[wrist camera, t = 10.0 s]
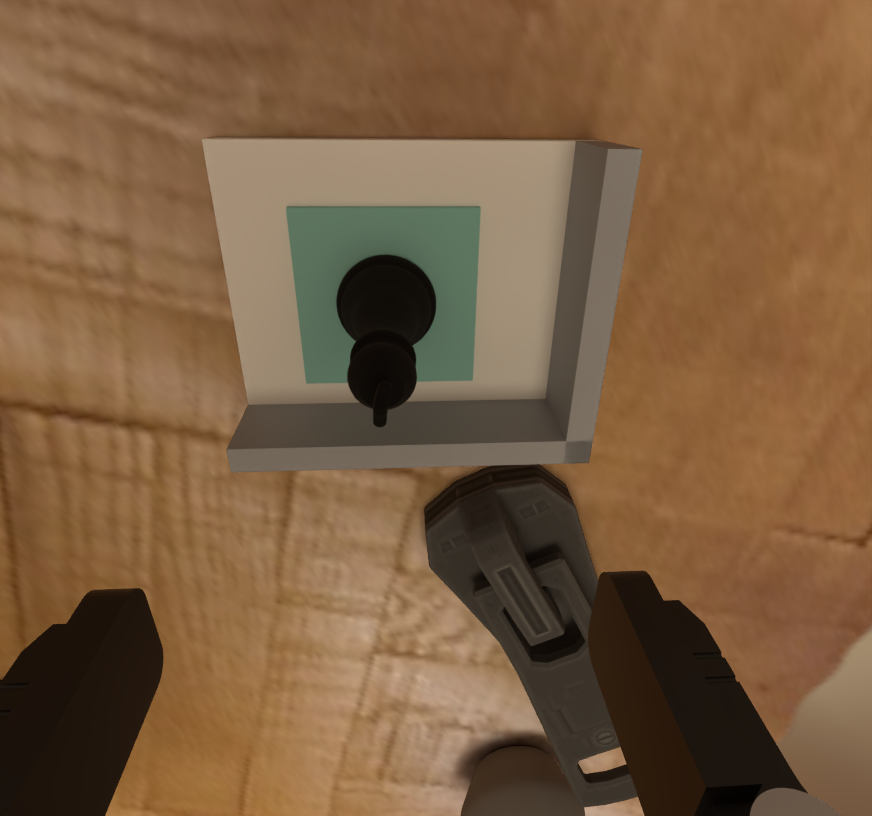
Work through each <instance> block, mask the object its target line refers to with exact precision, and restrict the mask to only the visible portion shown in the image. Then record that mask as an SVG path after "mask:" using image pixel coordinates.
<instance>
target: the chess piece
mask: <svg viewBox="0 0 872 816" xmlns="http://www.w3.org/2000/svg"><path fill="white" fill-rule="evenodd" d="M336 306H337V313H338V317H339V319H340V322H341V324H342V326H343V328H344V329H345V331H346V332H347V333H348V334H349V336H350V337H351V338H352V339H353V340H355V341H356V342H355V343H354V345H353V347H352V349H351V354H350V364H349V367H348V371H347V381H348V386H349V388H350V391H351V393H352V394H353V396H354V397H355V398H356V399H357V400H358V401H359V402H360V403H361V404H363V405H364V406H366V407H369V408H371V409H373V424H374V425H375V426H376V427H384V426H385V425H386V423H387V413H388V410H390V409H393V408H396V407H398V406H400V405H402V404H403V403H405V402H406V401H407V400H408V399H409V398H410V397H411V395H412V393H413V392H414V389H415V386H416V383H417V372H416V353H415V350H414V348H413V345H414V344H416V343H417V342H418V341H420V340H421V339H422V338H423V337H424V336H425V334H426V333H427V332H428V331H429V329H430V327H431V325H432V323H433V321H434V317H435V314H436V296H435V292H434V288H433V286H432V284H431V282H430V280H429V278H428V277H427V275H426V274H425V273H424V272H423V271H422V270H421V269H420V268H419V267H418V266H417V265H416V264H414V263H412V262H411V261H409V260H407V259H404V258H401V257H399V256H393V255H376V256H373V257H369V258H366V259H364V260H362V261H360V262H358V263H357V264H356V265H354V266H353V267H352V268H351V269H350V270H349V271H348V272H347V273H346V275H345V276H344V277H343V279H342V281H341V283H340V286H339V289H338V292H337V298H336Z"/></svg>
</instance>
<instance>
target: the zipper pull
mask: <svg viewBox="0 0 872 816" xmlns="http://www.w3.org/2000/svg"><path fill="white" fill-rule="evenodd" d="M424 514H425V530H426V541H427V551H428V560H429V566H430V568H431V569H432V570H433V571H434V572H435V574H436V575H437V576H438V577H439V578H440V579H441V580H442V581H443V582H444V583H445V584H446V585H447V586H448V587H449V588H450V589H451V590H452V591H453V592H454V593H455V594H456V596H457V597H458V598H459V599H460V600H461V601H462V602H463V603H464V604H465V605H466V606H467V607H468V609H469V610H470V611H471V612H472V613H473V614H474V615H475V616H476V617H477V618H478V619H479V620H480V622H481V623H482V624H483V625H484V626H485V627H486V628H487V629H488V630H489V631H490V632H491V634H492V635H493V636H494V637H495V638H496V639H497V640H498V641H499V642H500V644H501V646H502V648H503V649H504V651H505V653H506V655H507V656H508V658H509V660H510V661H511V663H512V665H513V667H514V668H515V670H516V672H517V674H518V676H519V678H520V680H521V682H522V684H523V686H524V688H525V690H526V692H527V695H528V697H529V699H530V701H531V703H532V705H533V707H534V709H535V712H536V714H537V716H538V718H539V720H540V722H541V724H542V726H543V729H544V731H545V733H546V735H547V737H548V739H549V741H550V743H551V745H552V748H553V750H554V752H555V754H556V756H557V758H558V760H559V762H560V765H561V767H562V770H563V772H564V774H565V776H566V778H567V781H568V783H569V785H570V787H571V789H572V791H573V793H574V795H575V797H576V799H577V801H578V803H579V805H580V806H582V807H590V806H599V805H607V804H611V803H615V802H620V801H624V800H628V799H631V798H635V797H638V795H637V792H636V789H635V786H634V784H633V781H632V778H631V775H630V772H629V769H628V766H627V764H626V765H623V766H620V767H617V768H613V769H610V770H607V771H602V772H596V773H589V774H585V773H583V771H582V769H581V768H580V766H579V764H578V762H579V761H580V760H583V759H586V758H588V757H591V756H594V755H597V754H600V753H603V752H606V751H609V750H612V749H615V748H618V747H621V746H620V744H619V741H618V738H617V735H616V732H615V729H614V727H613V724H612V721H611V718H610V715H609V712H608V709H607V707H606V704H605V701H604V698H603V695H602V692H601V689H600V687H599V684H598V681H597V678H596V675H595V672H594V669H593V666H592V663H591V659H590V654H589V647H588V629H589V624H590V619H591V614H592V609H593V604H594V599H595V594H596V589H597V585H598V579H597V576H596V572H595V569H594V566H593V563H592V560H591V557H590V554H589V550H588V547H587V544H586V541H585V537H584V534H583V531H582V527H581V524H580V520H579V517H578V514H577V510H576V507H575V505H574V503H573V500H572V498H571V496H570V493H569V491H568V489H567V486H566V484H565V483H563V482H562V481H560V480H559V479H558V478H556V477H555V476H554V475H552V474H551V473H549V472H548V471H547V470H545V469H544V468H543V467H541V466H540V465H539V464H528V465H499V466H492V467H488V468H485V469H483V470H481V471H478V472H476V473H474V474H472V475H469V476H467V477H465V478H462V479H460V480H458V481H456V482H454V483H453V484H452V485H451V486H450V487H448V488H447V489H446V490H445V491H444V492H443V493H441V494H440V495H439V496H438V497H437V498H436V499H434V500H433V501H432V502H431V503H430V504H428V505H427V506H426V507H425V510H424Z"/></svg>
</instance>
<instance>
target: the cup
mask: <svg viewBox="0 0 872 816" xmlns="http://www.w3.org/2000/svg"><path fill="white" fill-rule="evenodd" d="M461 816H585V811H584V807H582V806H580V805H579V803H578V801H577V799H576V797H575V795H574V793H573V791H572V789H571V787H570V785H569V783H568V781H567V778H566V776H565V775H564V774H563V772H562V771H561V770H560V769H559V767H558V766H557V765H556V764H555V762H554V761H553V760H552V759H551V757H550V756H549V755H548V754H547V753H545V752H543V751H541V750H539V749H537V748H534V747H529V746H510V747H506V748H502V749H498V750H496V751H494V752H492V753H490V754H488V755H487V756H486V757H485V758H484V759H482V760H481V761H480V762H479V763H478V765H477V768H476V770H475V772H474V775H473V778H472V780H471V783H470V786H469V789H468V792H467V795H466V798H465V801H464V804H463V807H462V811H461Z"/></svg>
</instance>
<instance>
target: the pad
mask: <svg viewBox="0 0 872 816" xmlns="http://www.w3.org/2000/svg"><path fill="white" fill-rule="evenodd" d="M480 212H481V208H480V206H287V207H286V215H287V223H288V232H289V240H290V249H291V258H292V266H293V275H294V283H295V292H296V301H297V309H298V318H299V327H300V335H301V344H302V352H303V361H304V370H305V378H306V384H315V383H348V381H347V371H348V367H349V364H350V354H351V349H352V347H353V345H354V343H355V342H356V341H355V340H353V339H352V338H351V337H350V336H349V334H348V333H347V332H346V331H345V329H344V328H343V326H342V324H341V322H340V319H339V317H338V313H337V306H336V298H337V292H338V289H339V286H340V283H341V281H342V279H343V277H344V276H345V275H346V273H347V272H348V271H349V270H350V269H351V268H352V267H353V266H354V265H356V264H357V263H358V262H360V261H362V260H364V259H366V258H369V257H373V256H376V255H393V256H399V257H401V258H404V259H407V260H409V261H411V262H412V263H414V264H416V265H417V266H418V267H419V268H420V269H421V270H422V271H423V272H424V273H425V274H426V275H427V277H428V278H429V280H430V282H431V284H432V286H433V288H434V292H435V296H436V314H435V317H434V321H433V323H432V325H431V327H430V329H429V331H428V332H427V333H426V334H425V336H424V337H423V338H422V339H421V340H420V341H418V342H417V343H416V344H414V345H413V348H414V350H415V353H416V372H417V382H426V381H473V366H474V344H475V322H476V300H477V278H478V256H479V234H480Z"/></svg>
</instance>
